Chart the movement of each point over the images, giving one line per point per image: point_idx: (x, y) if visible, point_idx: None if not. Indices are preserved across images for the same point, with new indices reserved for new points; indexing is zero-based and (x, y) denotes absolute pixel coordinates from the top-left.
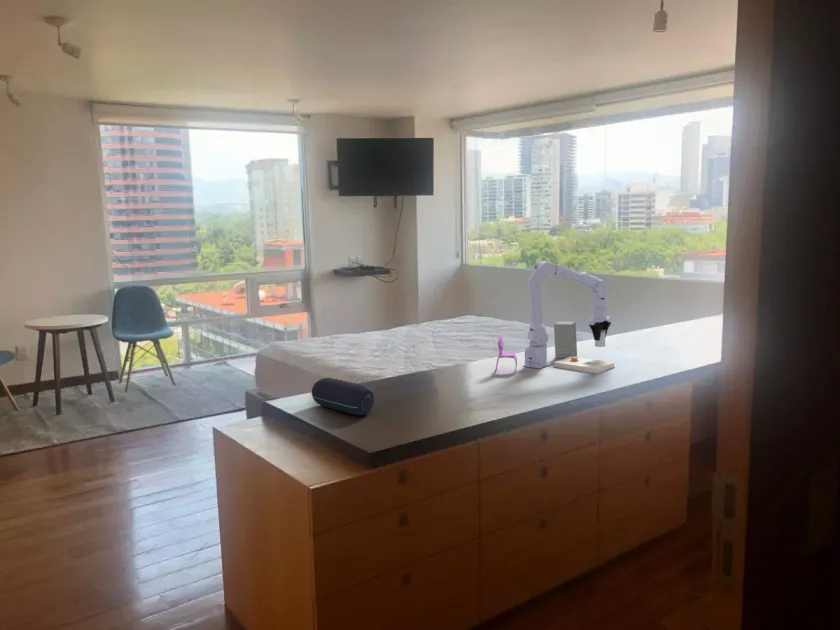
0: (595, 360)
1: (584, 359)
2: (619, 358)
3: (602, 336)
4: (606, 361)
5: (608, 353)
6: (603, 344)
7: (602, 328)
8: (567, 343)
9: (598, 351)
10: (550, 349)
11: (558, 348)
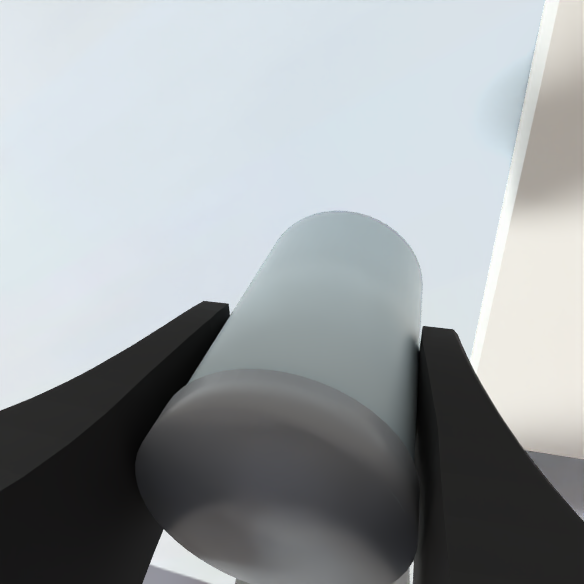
0: (556, 183)
1: (556, 308)
2: (89, 112)
3: (369, 332)
4: (559, 19)
5: (26, 282)
6: (365, 233)
7: (129, 506)
8: (393, 582)
9: (39, 361)
10: (215, 572)
11: (408, 577)
